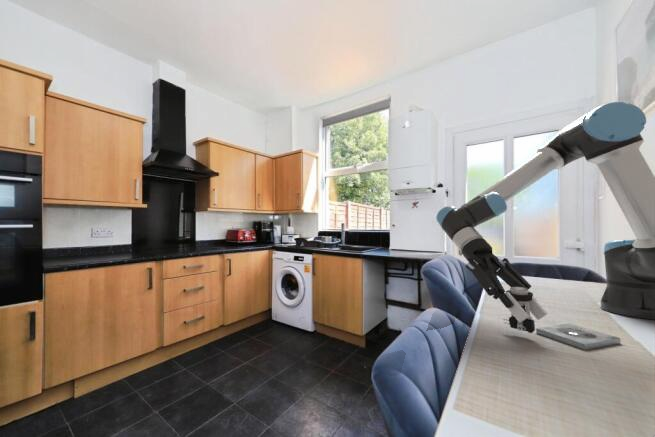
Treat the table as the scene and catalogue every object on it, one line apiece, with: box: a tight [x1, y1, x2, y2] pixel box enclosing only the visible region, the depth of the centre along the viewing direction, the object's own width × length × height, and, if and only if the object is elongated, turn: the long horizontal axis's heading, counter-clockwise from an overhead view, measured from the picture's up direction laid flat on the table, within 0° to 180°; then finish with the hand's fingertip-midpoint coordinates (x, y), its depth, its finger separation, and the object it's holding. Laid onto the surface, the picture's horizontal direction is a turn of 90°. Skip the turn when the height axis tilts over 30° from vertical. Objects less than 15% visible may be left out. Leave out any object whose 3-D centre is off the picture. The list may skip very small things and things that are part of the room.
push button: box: [502, 287, 536, 334], centre depth 63 cm, size 7×5×10 cm
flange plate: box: [535, 323, 622, 351], centre depth 62 cm, size 12×10×1 cm
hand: (533, 317), depth 60 cm, fingers closed on push button, 5 cm apart
